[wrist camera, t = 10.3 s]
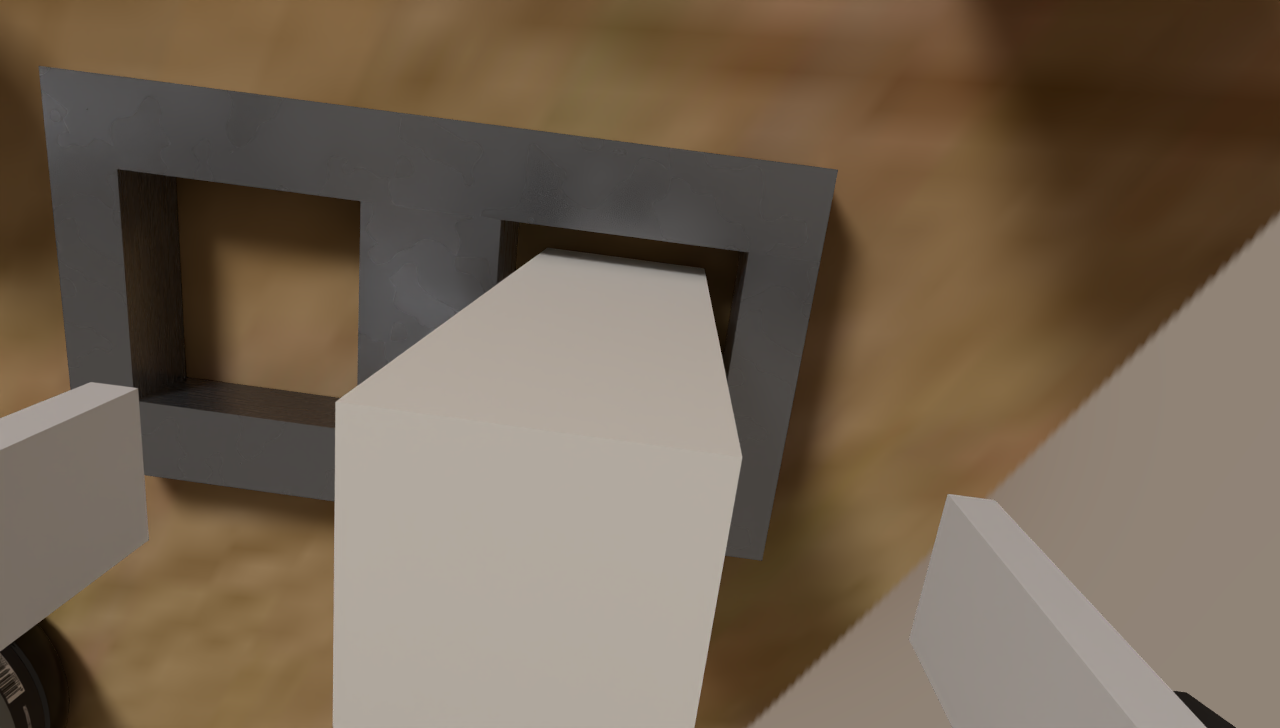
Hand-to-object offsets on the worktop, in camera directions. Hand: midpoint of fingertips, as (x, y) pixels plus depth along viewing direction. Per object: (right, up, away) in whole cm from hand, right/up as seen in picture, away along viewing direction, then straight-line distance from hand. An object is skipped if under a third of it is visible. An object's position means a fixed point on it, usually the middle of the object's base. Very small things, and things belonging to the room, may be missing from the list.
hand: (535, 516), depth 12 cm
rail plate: (-5, +4, +12) cm, 14 cm away
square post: (+1, +3, +12) cm, 13 cm away
